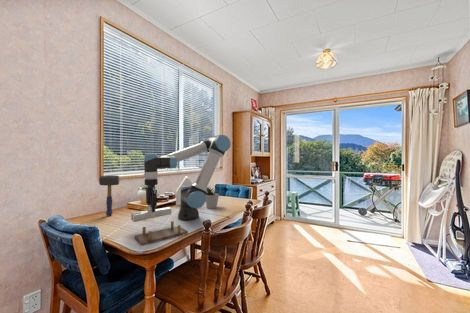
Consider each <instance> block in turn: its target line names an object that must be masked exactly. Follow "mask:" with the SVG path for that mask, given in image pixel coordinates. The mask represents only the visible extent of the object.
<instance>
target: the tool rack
mask: <svg viewBox="0 0 470 313" xmlns="http://www.w3.org/2000/svg"><path fill="white" fill-rule="evenodd" d="M187 233H188V234H189V231H188V230H187V229H186V228H183V227H182V226H181V225H180V224H178V225H177V226H175V224H174V220H173V221H170V227H169V228H164V229H159V230H155V231H150V230H149V231H148V232H147V231H146V226H142V233H141V234H137V235H134V239H135V240H136V241H137V242H138V243H139V244H140V246H144V245H149V244H152V243H157V242H160V240H161V241H164V240H168V239H172V237H173V238H177V237H181V236H184V235H183V234H185V235H188V234H187ZM180 235H181V236H180ZM176 236H177V237H176Z"/></svg>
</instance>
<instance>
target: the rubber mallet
mask: <svg viewBox="0 0 470 313" xmlns="http://www.w3.org/2000/svg"><path fill="white" fill-rule="evenodd" d="M98 184H99V186H107V196H106V201H105V202H106V213H105V214H106V216H107V217H110V216H112V215H113V207H112V206H113V196H112V186H117V185H118V186H119V184H120V176H119V175H100V176H99V180H98Z"/></svg>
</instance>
